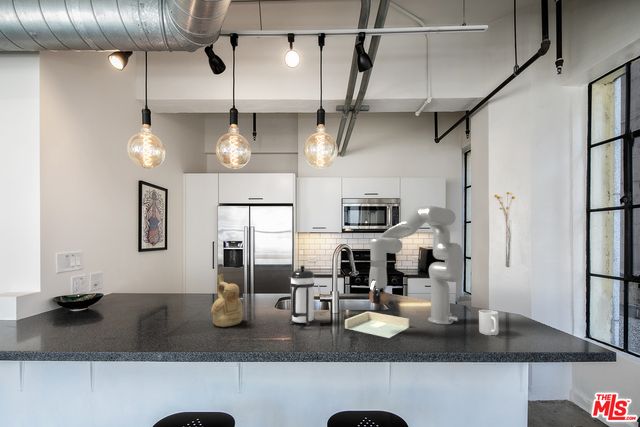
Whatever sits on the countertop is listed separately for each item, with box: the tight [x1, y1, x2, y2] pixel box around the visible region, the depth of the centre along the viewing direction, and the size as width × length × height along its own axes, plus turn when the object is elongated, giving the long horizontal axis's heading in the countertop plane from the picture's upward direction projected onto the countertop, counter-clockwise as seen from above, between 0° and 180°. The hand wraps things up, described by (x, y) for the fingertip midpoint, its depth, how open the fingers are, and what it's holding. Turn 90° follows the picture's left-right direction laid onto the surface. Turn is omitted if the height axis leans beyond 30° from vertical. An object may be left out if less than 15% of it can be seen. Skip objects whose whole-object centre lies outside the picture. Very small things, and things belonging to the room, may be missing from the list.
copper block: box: [368, 290, 389, 306], centre depth 162 cm, size 8×4×5 cm, turn 52°
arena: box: [344, 311, 410, 339], centre depth 169 cm, size 24×22×4 cm
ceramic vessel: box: [210, 273, 244, 328], centre depth 177 cm, size 17×20×25 cm
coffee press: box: [288, 265, 316, 327], centre depth 178 cm, size 17×16×30 cm
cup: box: [478, 309, 499, 336], centre depth 161 cm, size 8×12×10 cm
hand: (378, 302), depth 162 cm, fingers closed on copper block, 4 cm apart
